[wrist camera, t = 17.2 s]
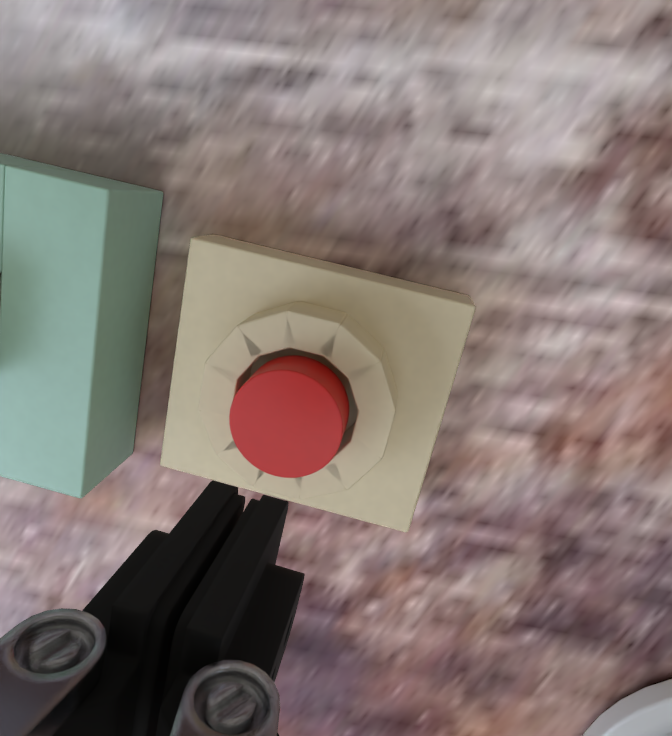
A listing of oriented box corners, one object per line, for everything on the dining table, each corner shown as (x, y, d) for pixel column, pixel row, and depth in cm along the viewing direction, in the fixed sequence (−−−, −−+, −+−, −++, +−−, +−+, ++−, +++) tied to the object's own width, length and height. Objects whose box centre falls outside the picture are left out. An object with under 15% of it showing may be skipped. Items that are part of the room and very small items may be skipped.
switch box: (470, 295, 21) (482, 316, 17) (408, 504, 23) (407, 563, 20) (212, 233, 21) (167, 240, 17) (181, 443, 24) (136, 488, 20)
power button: (360, 369, 18) (354, 386, 17) (336, 466, 19) (329, 491, 18) (254, 343, 18) (238, 357, 17) (237, 440, 20) (220, 462, 18)
